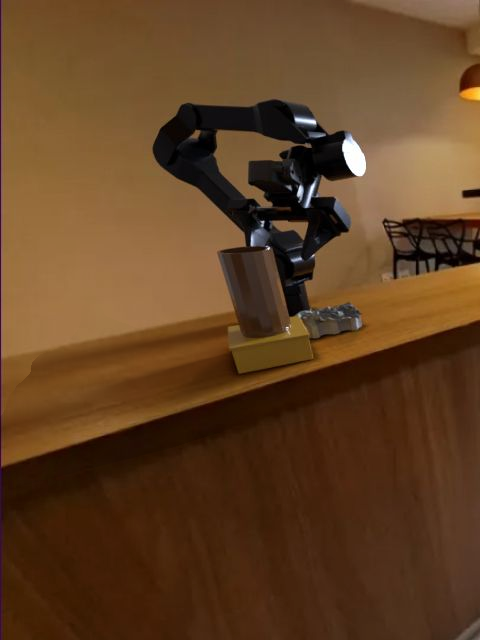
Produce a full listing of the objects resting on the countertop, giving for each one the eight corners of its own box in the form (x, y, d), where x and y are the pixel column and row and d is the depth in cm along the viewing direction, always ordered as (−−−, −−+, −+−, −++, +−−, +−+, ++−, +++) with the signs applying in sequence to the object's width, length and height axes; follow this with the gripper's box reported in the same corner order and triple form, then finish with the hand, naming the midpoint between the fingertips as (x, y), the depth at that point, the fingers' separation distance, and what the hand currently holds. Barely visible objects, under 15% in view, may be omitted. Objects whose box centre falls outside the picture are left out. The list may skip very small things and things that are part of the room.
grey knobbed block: (303, 341, 74) (298, 318, 72) (295, 330, 80) (290, 308, 78) (366, 329, 79) (362, 307, 78) (354, 319, 85) (350, 298, 83)
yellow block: (235, 350, 71) (227, 326, 69) (304, 338, 76) (298, 315, 74) (237, 374, 62) (228, 348, 60) (315, 359, 67) (309, 334, 65)
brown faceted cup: (240, 328, 68) (216, 248, 63) (288, 320, 71) (269, 244, 66) (243, 341, 63) (217, 255, 58) (294, 332, 66) (274, 250, 61)
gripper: (215, 142, 68) (182, 226, 63) (326, 137, 65) (301, 224, 60) (262, 195, 78) (237, 270, 73) (360, 192, 75) (341, 270, 70)
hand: (276, 259), depth 69 cm, fingers open, 9 cm apart
